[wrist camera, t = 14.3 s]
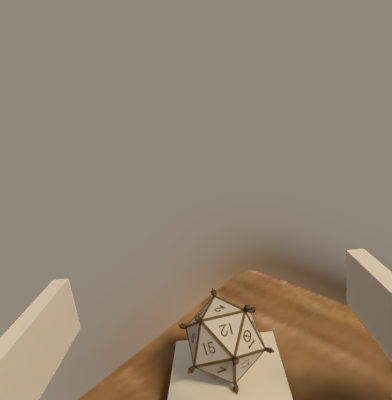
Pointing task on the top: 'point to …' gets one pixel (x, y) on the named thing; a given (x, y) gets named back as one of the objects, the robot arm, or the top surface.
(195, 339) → the game die
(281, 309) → the top surface
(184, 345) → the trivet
